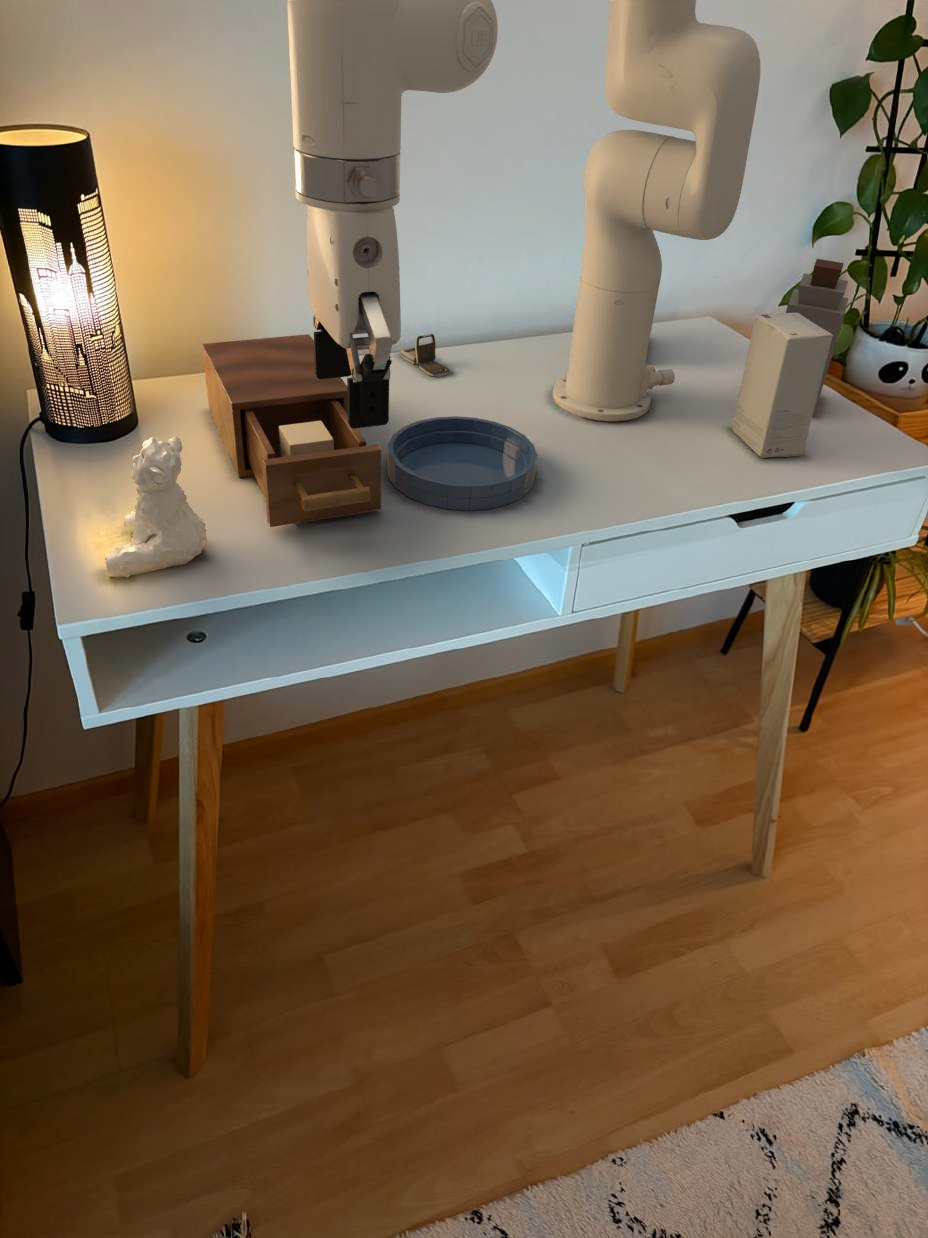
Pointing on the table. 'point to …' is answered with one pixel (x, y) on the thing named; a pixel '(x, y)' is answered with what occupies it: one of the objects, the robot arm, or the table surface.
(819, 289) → the perfume bottle
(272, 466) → the drawer
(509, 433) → the plate
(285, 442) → the block
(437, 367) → the strap clip
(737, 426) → the cosmetic box
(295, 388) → the cabinet
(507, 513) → the table surface
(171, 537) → the sitting furry creature
